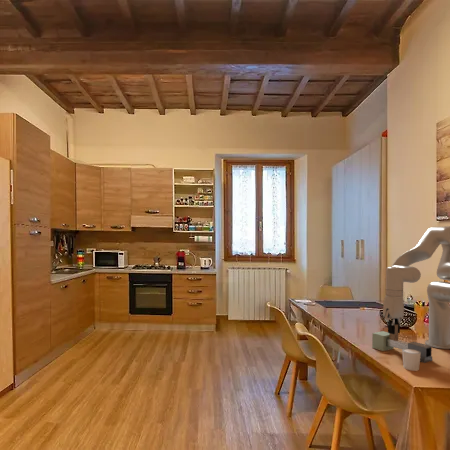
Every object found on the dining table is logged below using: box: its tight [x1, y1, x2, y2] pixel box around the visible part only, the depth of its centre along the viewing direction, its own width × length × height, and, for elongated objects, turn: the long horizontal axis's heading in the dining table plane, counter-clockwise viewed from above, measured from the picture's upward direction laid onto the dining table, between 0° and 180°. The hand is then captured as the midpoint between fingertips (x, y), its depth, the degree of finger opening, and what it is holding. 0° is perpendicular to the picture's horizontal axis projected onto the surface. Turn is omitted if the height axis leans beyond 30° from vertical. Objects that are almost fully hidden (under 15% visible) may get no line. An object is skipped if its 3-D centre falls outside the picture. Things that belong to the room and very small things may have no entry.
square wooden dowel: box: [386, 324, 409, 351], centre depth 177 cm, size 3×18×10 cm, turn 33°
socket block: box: [371, 330, 395, 352], centre depth 184 cm, size 8×6×7 cm
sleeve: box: [408, 341, 433, 364], centre depth 169 cm, size 6×8×6 cm
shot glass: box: [401, 349, 421, 372], centre depth 157 cm, size 7×7×7 cm
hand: (393, 332), depth 180 cm, fingers closed on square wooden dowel, 3 cm apart
